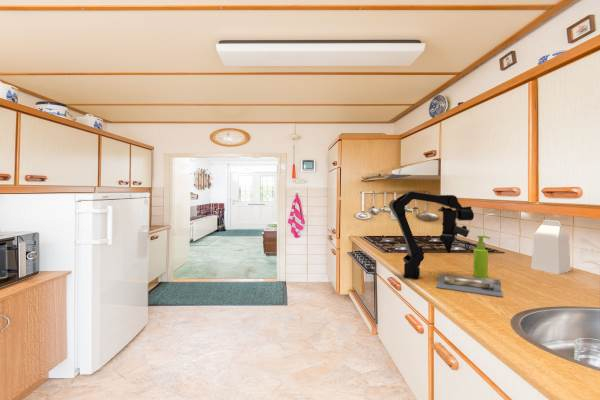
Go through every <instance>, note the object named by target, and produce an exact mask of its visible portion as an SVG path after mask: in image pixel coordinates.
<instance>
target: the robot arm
mask: <svg viewBox="0 0 600 400" xmlns="http://www.w3.org/2000/svg"><path fill="white" fill-rule="evenodd" d="M413 200H415V201H421V202H422V201H423V202H428V203H429V202H430V203H435V204H437V205H440V206H441V207H440V208H439V209H437V212H442V222H441V225H442V231H441V234H440V236H439V241H442V243H443V245H444V247H445V250H446V252H447V253H449V254H450V253H451V250H452V246H453V243H454V242H456V240H457V237H458V235H460V236H462V237H464V238H467V237H468V235H469V233H470V230H469V229H468V227H467V226H466V225H462V226H459V225H458V223H457V220H458V221H459V222H461V221H464V222H465V221H466V222H467V221H473V220H474V219H475V218H474V217H475V213H474V211H473V209H472V206H462V205H461V204H460V202H459V199H458V197H457V196H456V195H453V194H430V193H423V192H416V191H413V190H412V191H411V190H409V191H407V192H406V193H404V194H402V195H400V196H399V197H397V198H395V199H391V200H390V202H389V203H388V207H389V209H390V211H391V212H392V214H393V216H394V217H395V218H396V220H397V223H398V226H399V228H400V230H401V233H402V236H403V239H404V240H405V243H406V253H407V254H405V256H403V258H402V260H403V263H404V264H403V265H404V268H403V271H404V275H403V278H404V279H405V278H408V279H414V280H418V279H419V278H420V276H421V268H420V265H421V264H422V263H421V262H423V261H424V259H425V252H424V249H423V247H422V245H420V244H418V243H417V242H416V240H415V238H414V235H413V232H412V230H411V226H410V225H409V222H408V219H407V216H406V206H407V205H409V203H411V202H412V201H413Z"/></svg>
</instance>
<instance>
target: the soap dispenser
mask: <svg viewBox="0 0 600 400" xmlns="http://www.w3.org/2000/svg"><path fill="white" fill-rule="evenodd" d="M476 238H478V241H477V242H476V248H473V277H474V278H479V279H481V277H482V278H489V277H488V275H489V273H488V272H489V270H488V269H489V267H488V265H489V263H488V261H489V260H488V259H489V250H488V249H486V242H484V239H488V240H489V239H491V236H486V235H477V236H476Z"/></svg>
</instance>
